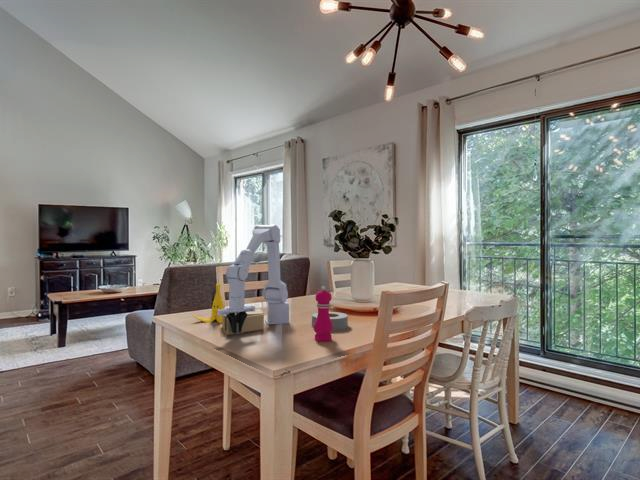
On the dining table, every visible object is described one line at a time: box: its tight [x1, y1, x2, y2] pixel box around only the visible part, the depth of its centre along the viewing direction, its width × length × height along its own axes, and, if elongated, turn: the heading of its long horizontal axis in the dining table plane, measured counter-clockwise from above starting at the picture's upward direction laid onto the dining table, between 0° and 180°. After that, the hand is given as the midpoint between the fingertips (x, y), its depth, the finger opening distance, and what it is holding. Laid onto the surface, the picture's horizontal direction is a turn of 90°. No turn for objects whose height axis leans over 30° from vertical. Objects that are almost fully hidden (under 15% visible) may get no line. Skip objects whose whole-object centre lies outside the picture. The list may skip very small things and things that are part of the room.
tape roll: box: [311, 311, 349, 332], centre depth 167 cm, size 15×15×5 cm
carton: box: [221, 308, 265, 333], centre depth 163 cm, size 16×10×7 cm, turn 107°
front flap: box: [226, 313, 265, 336], centre depth 153 cm, size 16×6×6 cm, turn 125°
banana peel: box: [192, 283, 225, 324], centre depth 178 cm, size 17×19×17 cm
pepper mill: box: [313, 285, 333, 343], centre depth 146 cm, size 7×7×20 cm
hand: (236, 332), depth 148 cm, fingers closed, pressing on front flap
